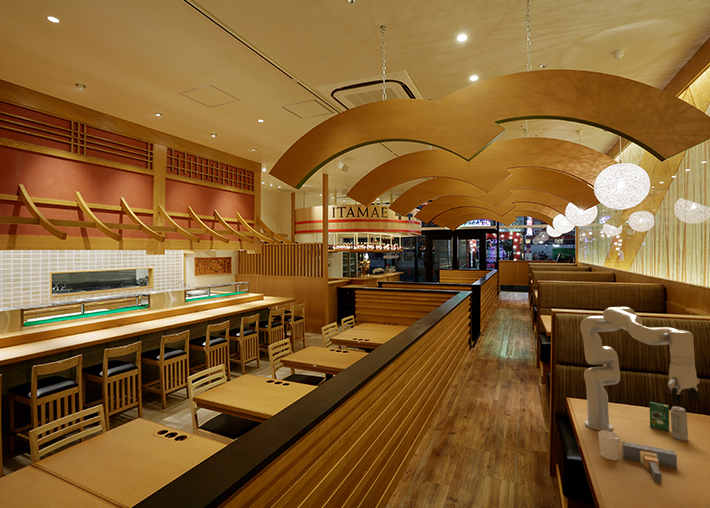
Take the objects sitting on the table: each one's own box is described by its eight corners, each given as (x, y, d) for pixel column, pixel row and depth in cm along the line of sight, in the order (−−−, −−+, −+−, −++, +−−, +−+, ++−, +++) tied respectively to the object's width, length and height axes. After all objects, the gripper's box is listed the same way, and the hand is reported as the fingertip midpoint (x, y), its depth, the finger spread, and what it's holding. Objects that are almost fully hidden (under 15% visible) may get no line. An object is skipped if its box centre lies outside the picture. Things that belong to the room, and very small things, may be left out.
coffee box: (670, 430, 188) (669, 405, 189) (669, 432, 186) (668, 406, 187) (650, 425, 194) (649, 401, 194) (649, 427, 192) (648, 402, 192)
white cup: (616, 453, 167) (615, 431, 167) (623, 462, 159) (622, 439, 160) (596, 451, 169) (596, 429, 170) (602, 459, 162) (601, 437, 162)
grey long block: (622, 454, 166) (621, 441, 166) (674, 464, 157) (673, 450, 157) (623, 458, 162) (623, 445, 162) (677, 469, 153) (676, 455, 153)
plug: (643, 463, 159) (643, 453, 159) (656, 465, 156) (655, 456, 156) (651, 480, 146) (650, 470, 146) (665, 483, 144) (664, 473, 144)
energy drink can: (691, 441, 176) (689, 411, 176) (677, 441, 177) (675, 410, 177) (682, 436, 182) (681, 406, 182) (669, 435, 183) (667, 405, 183)
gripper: (686, 356, 157) (688, 396, 156) (657, 360, 152) (660, 401, 151) (707, 360, 150) (710, 402, 149) (678, 364, 145) (680, 407, 144)
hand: (685, 401), depth 150 cm, fingers open, 9 cm apart
